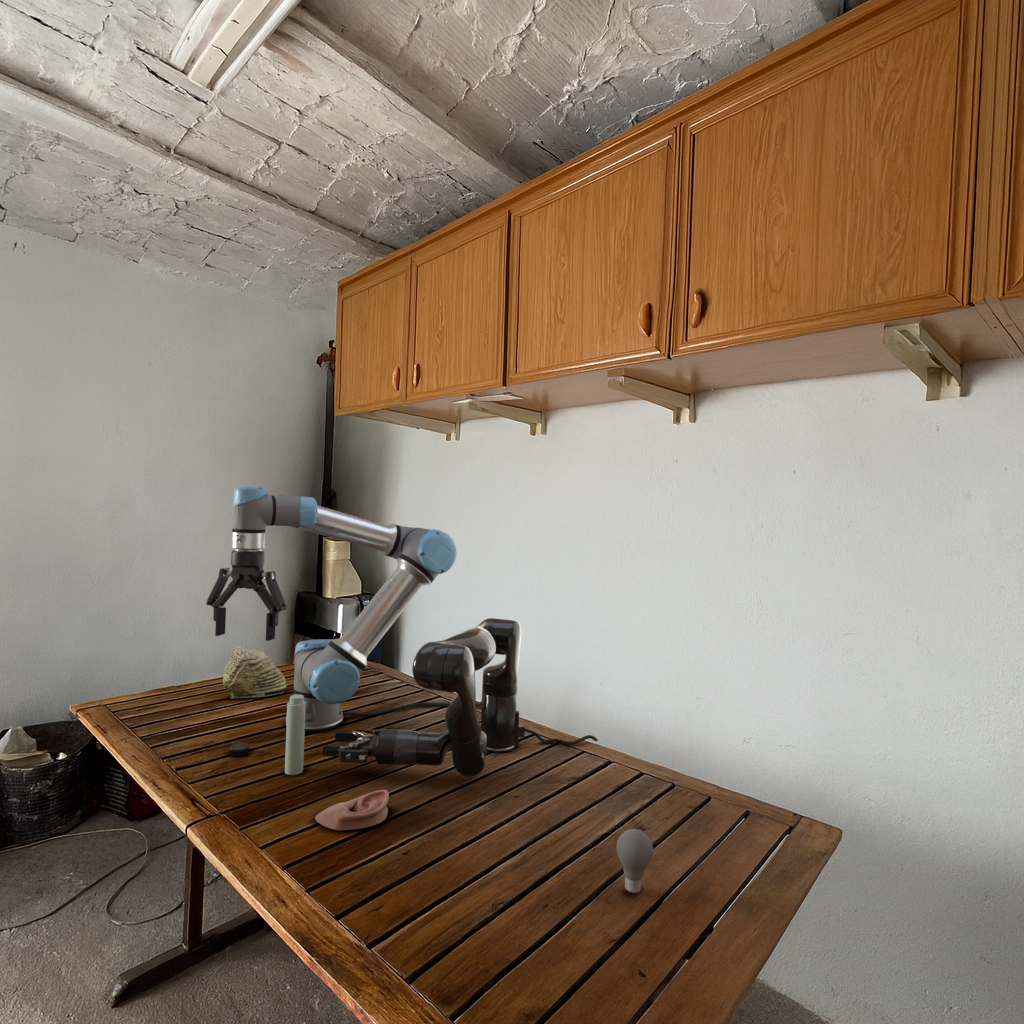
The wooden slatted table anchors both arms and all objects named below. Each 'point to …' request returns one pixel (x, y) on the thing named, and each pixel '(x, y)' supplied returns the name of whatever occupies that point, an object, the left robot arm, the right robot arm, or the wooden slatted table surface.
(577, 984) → the wooden slatted table surface
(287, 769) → the pale green cylinder
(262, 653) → the fossil
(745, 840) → the wooden slatted table surface
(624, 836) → the light bulb
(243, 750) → the lid
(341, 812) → the anatomical model
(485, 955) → the wooden slatted table surface
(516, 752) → the wooden slatted table surface
